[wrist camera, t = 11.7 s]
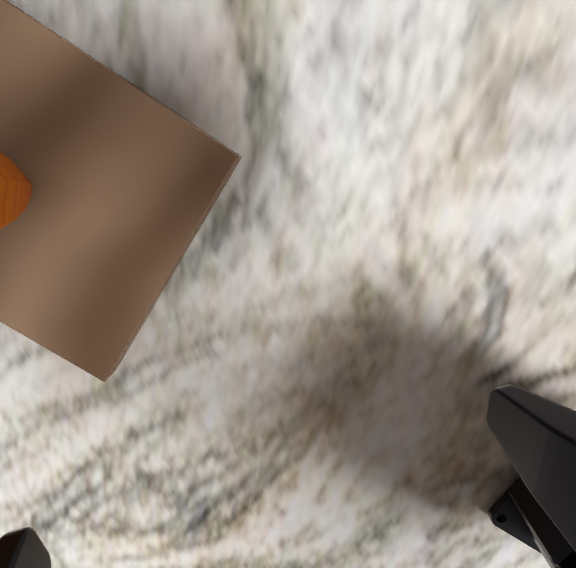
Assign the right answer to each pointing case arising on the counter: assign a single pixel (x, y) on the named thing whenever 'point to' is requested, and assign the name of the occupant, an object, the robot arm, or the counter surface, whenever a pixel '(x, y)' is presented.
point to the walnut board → (93, 196)
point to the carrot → (12, 191)
